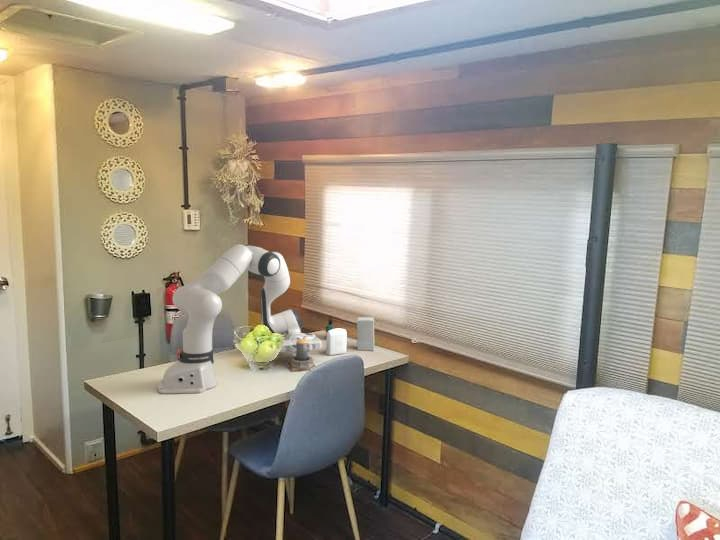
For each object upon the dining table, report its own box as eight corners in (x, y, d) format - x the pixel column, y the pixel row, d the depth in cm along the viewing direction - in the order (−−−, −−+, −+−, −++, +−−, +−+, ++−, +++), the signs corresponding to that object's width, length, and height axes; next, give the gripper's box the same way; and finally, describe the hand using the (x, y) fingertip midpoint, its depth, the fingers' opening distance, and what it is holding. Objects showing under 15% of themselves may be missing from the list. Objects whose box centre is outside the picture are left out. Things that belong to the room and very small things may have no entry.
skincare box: (374, 347, 273) (375, 316, 271) (373, 351, 266) (374, 319, 264) (357, 346, 274) (358, 316, 272) (356, 350, 267) (356, 319, 265)
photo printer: (343, 351, 266) (343, 326, 264) (347, 353, 263) (348, 328, 261) (324, 354, 260) (325, 329, 259) (329, 356, 257) (329, 330, 255)
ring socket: (291, 371, 234) (291, 363, 233) (287, 364, 244) (287, 356, 243) (316, 369, 237) (316, 361, 236) (311, 362, 247) (311, 354, 247)
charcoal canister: (297, 367, 237) (297, 343, 235) (295, 363, 242) (295, 339, 240) (308, 366, 239) (308, 342, 237) (306, 362, 243) (306, 339, 242)
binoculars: (345, 322, 284) (326, 321, 282) (343, 342, 285) (324, 340, 284) (344, 318, 292) (325, 317, 291) (341, 337, 294) (323, 336, 293)
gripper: (273, 336, 248) (278, 344, 235) (317, 334, 254) (324, 341, 241) (274, 350, 249) (278, 359, 236) (317, 347, 255) (324, 355, 242)
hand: (302, 350), depth 239 cm, fingers closed on charcoal canister, 5 cm apart
